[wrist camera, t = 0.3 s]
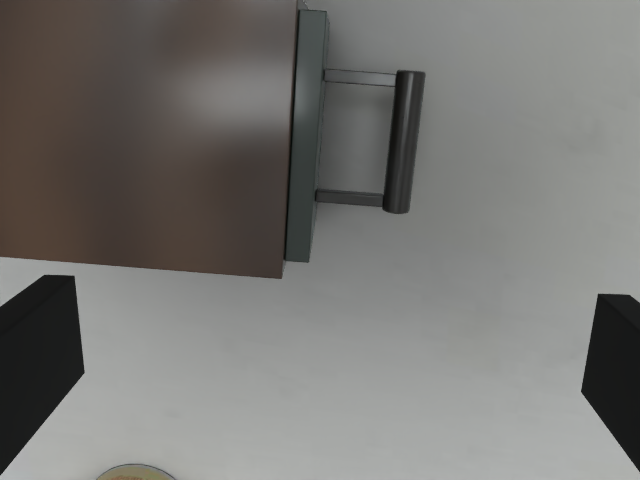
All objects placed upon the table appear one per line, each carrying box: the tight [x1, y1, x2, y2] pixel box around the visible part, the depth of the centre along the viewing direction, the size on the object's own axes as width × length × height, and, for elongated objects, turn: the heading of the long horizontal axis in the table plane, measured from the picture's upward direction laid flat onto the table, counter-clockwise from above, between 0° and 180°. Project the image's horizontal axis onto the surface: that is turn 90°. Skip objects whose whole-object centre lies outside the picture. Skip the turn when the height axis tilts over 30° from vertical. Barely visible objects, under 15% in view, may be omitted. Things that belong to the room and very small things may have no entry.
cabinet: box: [0, 0, 309, 279], centre depth 30 cm, size 15×13×10 cm
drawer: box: [285, 9, 426, 263], centre depth 30 cm, size 18×11×8 cm, turn 86°
